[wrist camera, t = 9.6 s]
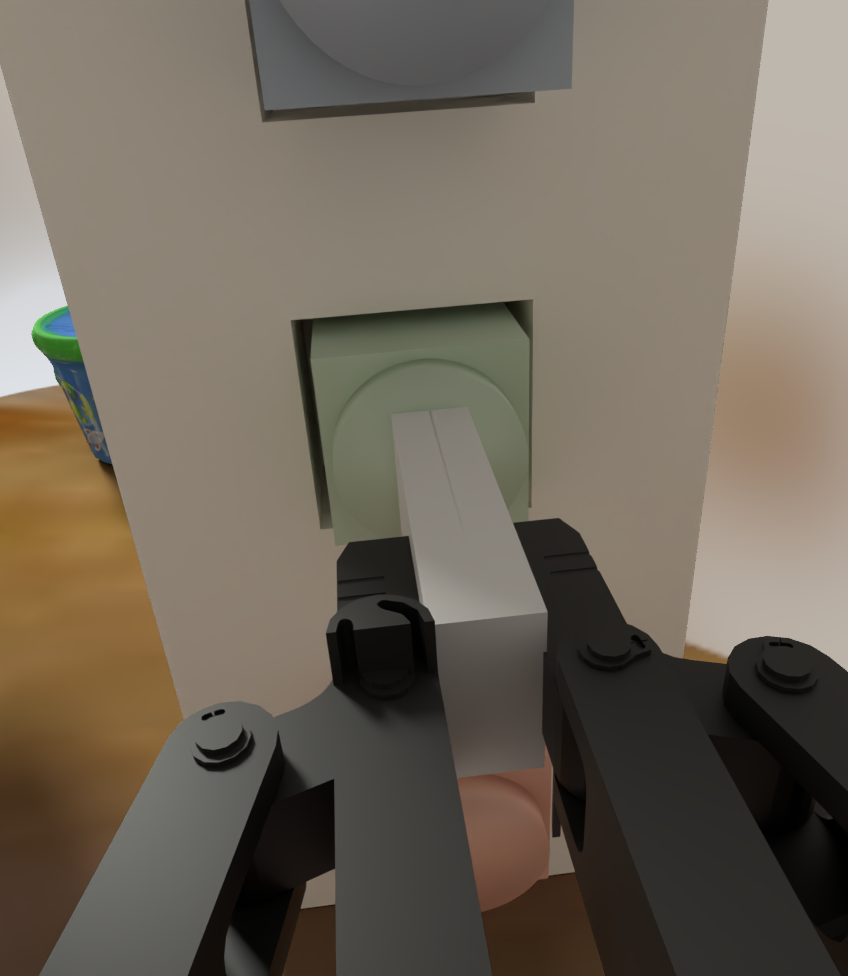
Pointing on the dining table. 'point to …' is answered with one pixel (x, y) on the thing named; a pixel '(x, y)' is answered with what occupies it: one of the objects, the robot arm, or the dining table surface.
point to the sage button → (416, 402)
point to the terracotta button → (508, 831)
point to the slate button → (408, 49)
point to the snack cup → (71, 374)
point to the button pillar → (382, 295)
